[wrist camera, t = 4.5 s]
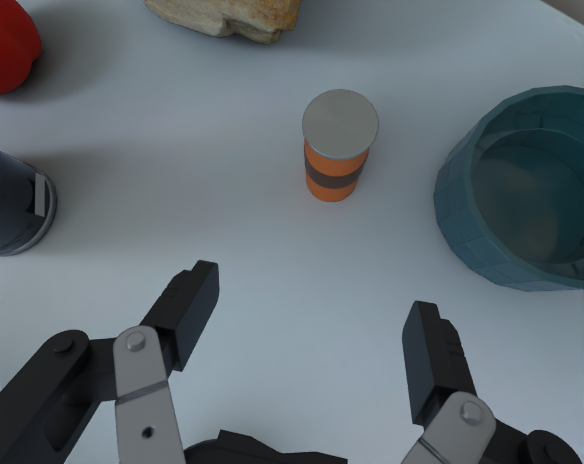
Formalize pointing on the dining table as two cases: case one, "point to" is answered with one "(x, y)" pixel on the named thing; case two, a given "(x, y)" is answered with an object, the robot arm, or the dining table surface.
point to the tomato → (16, 45)
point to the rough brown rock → (230, 16)
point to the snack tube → (337, 142)
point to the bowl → (519, 192)
